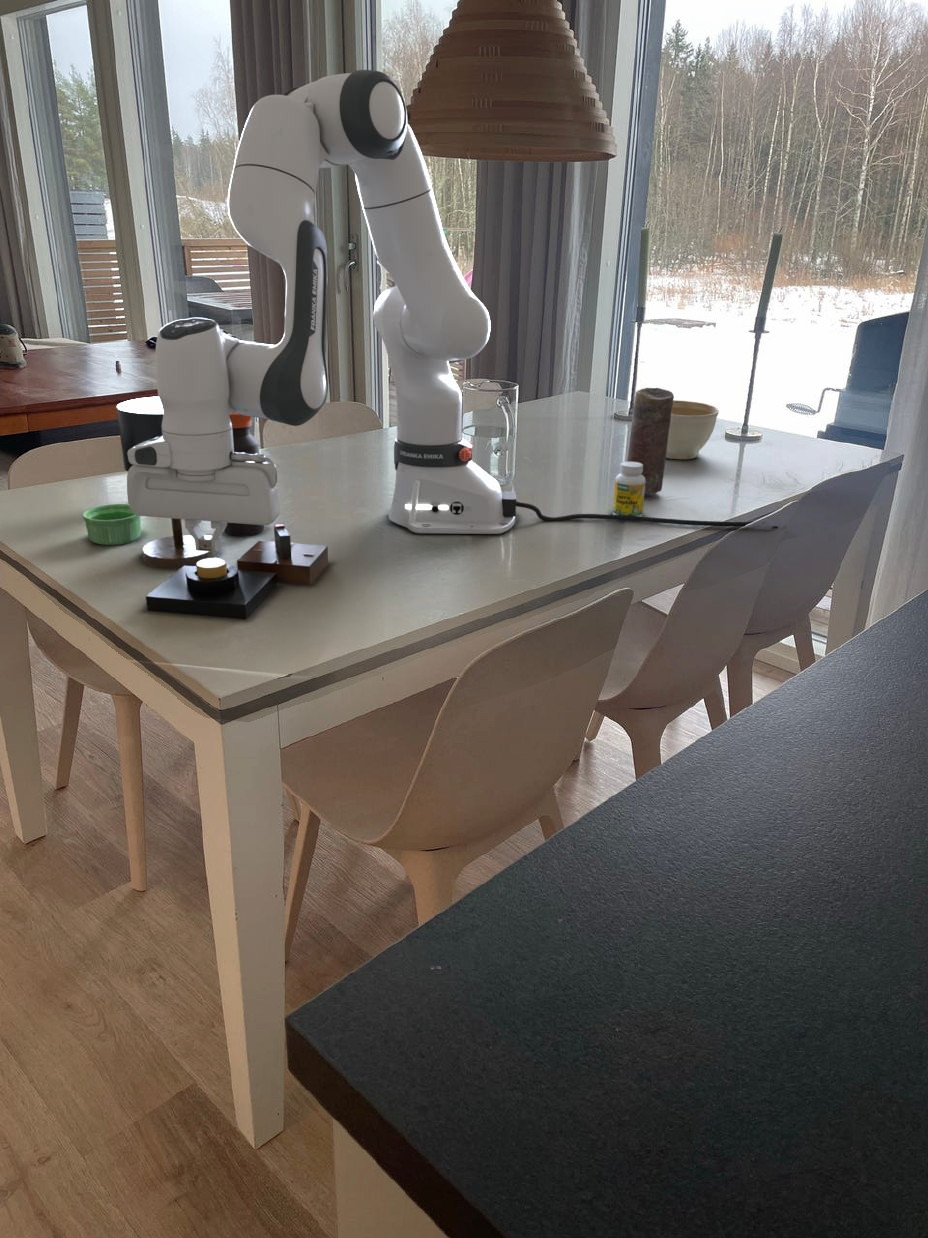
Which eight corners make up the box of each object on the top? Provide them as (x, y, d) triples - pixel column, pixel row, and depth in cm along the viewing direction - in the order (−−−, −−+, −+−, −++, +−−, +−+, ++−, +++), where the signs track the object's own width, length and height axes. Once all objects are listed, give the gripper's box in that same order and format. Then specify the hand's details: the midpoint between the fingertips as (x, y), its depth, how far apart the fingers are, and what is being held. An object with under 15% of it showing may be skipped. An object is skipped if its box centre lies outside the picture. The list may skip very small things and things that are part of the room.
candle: (666, 492, 184) (678, 389, 176) (657, 501, 178) (668, 395, 169) (628, 486, 187) (638, 385, 178) (618, 496, 180) (628, 391, 172)
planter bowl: (627, 455, 211) (631, 406, 206) (662, 443, 222) (667, 397, 218) (690, 468, 201) (697, 417, 197) (724, 455, 213) (731, 407, 208)
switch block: (277, 586, 134) (275, 560, 133) (246, 620, 123) (244, 592, 122) (185, 579, 136) (182, 553, 135) (147, 611, 125) (143, 583, 124)
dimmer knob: (291, 557, 137) (290, 533, 135) (281, 558, 136) (279, 534, 135) (285, 546, 141) (283, 523, 139) (275, 547, 140) (273, 524, 139)
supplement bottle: (643, 513, 171) (649, 461, 167) (640, 521, 166) (645, 469, 162) (614, 510, 172) (619, 459, 168) (609, 518, 167) (614, 466, 163)
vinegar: (270, 532, 156) (262, 413, 148) (231, 539, 153) (221, 417, 145) (256, 521, 161) (247, 405, 153) (218, 527, 158) (207, 409, 150)
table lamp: (235, 545, 150) (223, 398, 140) (202, 574, 138) (186, 415, 129) (160, 539, 152) (142, 394, 142) (120, 567, 140) (99, 410, 130)
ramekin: (89, 549, 147) (85, 523, 145) (83, 532, 154) (80, 507, 152) (147, 542, 150) (144, 516, 149) (140, 526, 158) (137, 501, 156)
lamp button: (231, 570, 130) (230, 558, 129) (220, 581, 126) (219, 568, 126) (204, 568, 130) (203, 556, 130) (192, 578, 127) (191, 566, 126)
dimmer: (328, 564, 143) (327, 544, 142) (310, 585, 135) (309, 565, 134) (260, 558, 145) (259, 539, 143) (238, 579, 136) (236, 559, 135)
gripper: (283, 449, 123) (289, 548, 128) (138, 439, 126) (150, 537, 131) (267, 460, 117) (273, 563, 123) (115, 450, 120) (128, 551, 125)
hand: (208, 550), depth 127 cm, fingers closed
